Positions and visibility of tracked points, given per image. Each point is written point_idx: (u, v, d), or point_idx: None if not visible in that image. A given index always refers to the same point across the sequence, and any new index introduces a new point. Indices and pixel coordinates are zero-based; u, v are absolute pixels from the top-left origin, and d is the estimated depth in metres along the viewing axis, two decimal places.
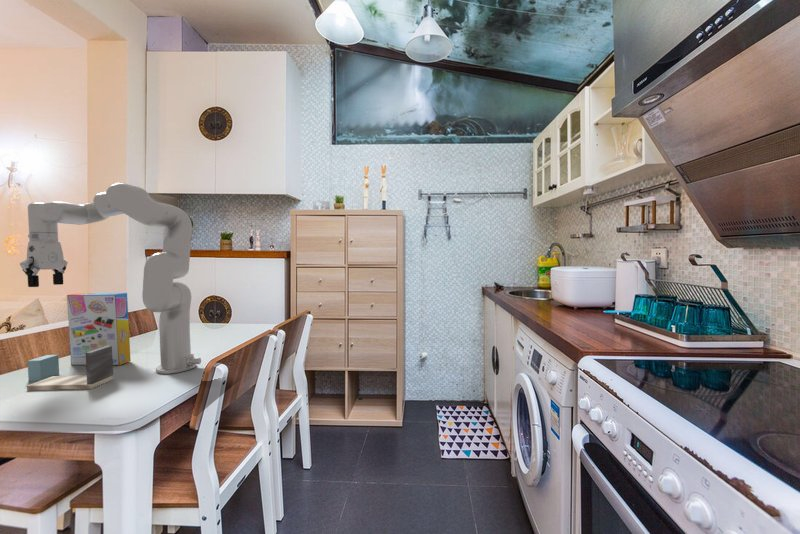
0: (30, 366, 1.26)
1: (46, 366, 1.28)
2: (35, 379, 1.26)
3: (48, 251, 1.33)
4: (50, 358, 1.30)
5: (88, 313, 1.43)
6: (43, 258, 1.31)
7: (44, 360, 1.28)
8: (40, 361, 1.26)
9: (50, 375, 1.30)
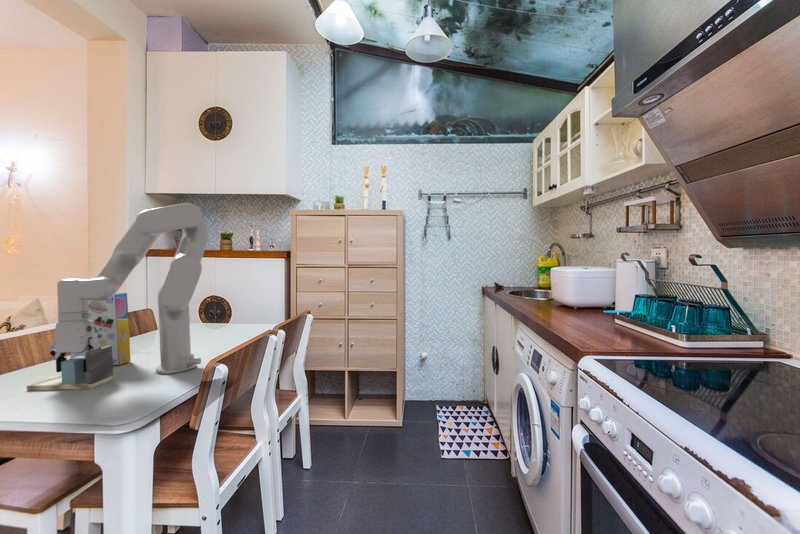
0: (63, 368, 1.18)
1: (80, 367, 1.20)
2: (69, 382, 1.18)
3: None
4: (84, 359, 1.22)
5: None
6: None
7: (78, 361, 1.20)
8: (74, 362, 1.18)
9: (84, 377, 1.22)
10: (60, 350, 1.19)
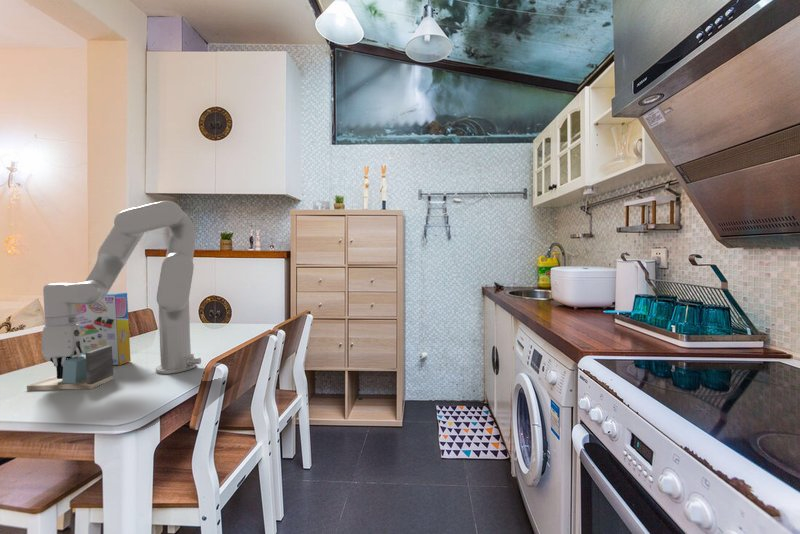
0: (65, 367, 1.18)
1: (81, 367, 1.20)
2: (69, 381, 1.18)
3: None
4: None
5: (88, 313, 1.43)
6: None
7: (80, 361, 1.20)
8: (77, 362, 1.18)
9: (84, 377, 1.22)
10: (48, 355, 1.19)
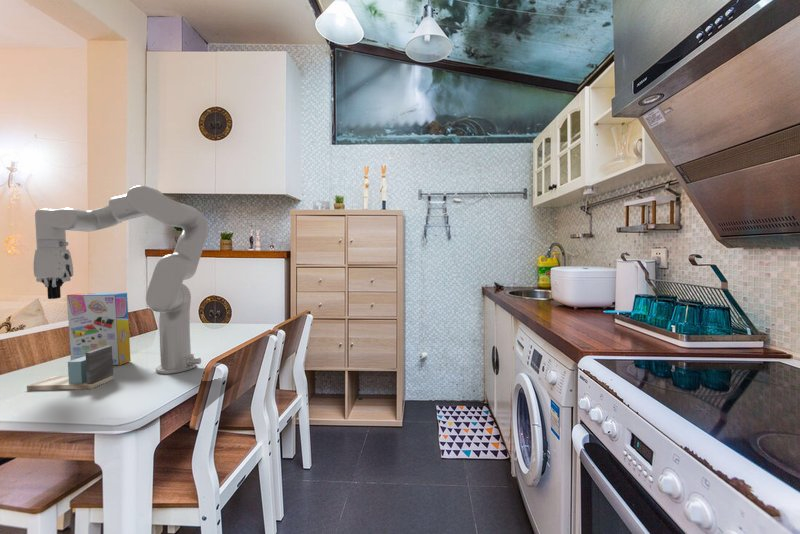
0: (70, 367, 1.18)
1: None
2: (76, 381, 1.18)
3: None
4: None
5: (88, 313, 1.43)
6: None
7: (85, 361, 1.20)
8: (81, 362, 1.19)
9: None
10: (39, 275, 1.28)
